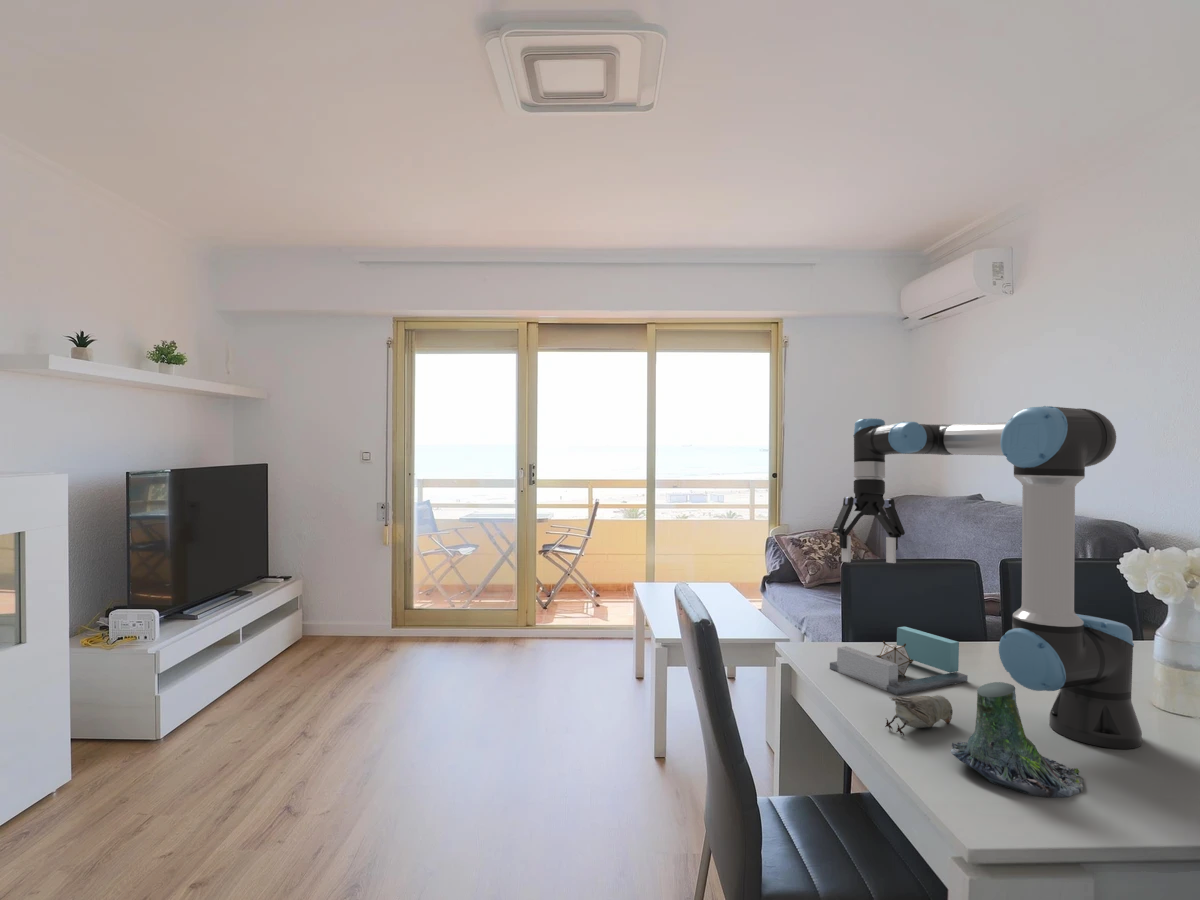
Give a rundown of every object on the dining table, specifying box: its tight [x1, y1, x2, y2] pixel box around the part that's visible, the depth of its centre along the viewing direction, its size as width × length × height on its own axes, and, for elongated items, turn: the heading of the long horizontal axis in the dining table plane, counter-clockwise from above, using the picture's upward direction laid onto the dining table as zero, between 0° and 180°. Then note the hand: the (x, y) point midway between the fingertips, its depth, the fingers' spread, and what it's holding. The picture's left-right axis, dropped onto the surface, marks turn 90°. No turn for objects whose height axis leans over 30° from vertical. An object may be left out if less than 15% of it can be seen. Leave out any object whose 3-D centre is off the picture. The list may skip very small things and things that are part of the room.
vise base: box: [829, 646, 968, 696], centre depth 176 cm, size 21×24×6 cm
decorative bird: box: [884, 695, 953, 736], centre depth 142 cm, size 5×16×8 cm, turn 114°
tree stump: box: [950, 681, 1084, 798], centre depth 122 cm, size 18×20×18 cm
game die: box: [876, 640, 915, 679], centre depth 175 cm, size 9×8×10 cm
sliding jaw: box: [896, 626, 960, 673], centre depth 180 cm, size 16×3×7 cm, turn 26°
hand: (868, 562), depth 180 cm, fingers open, 13 cm apart
